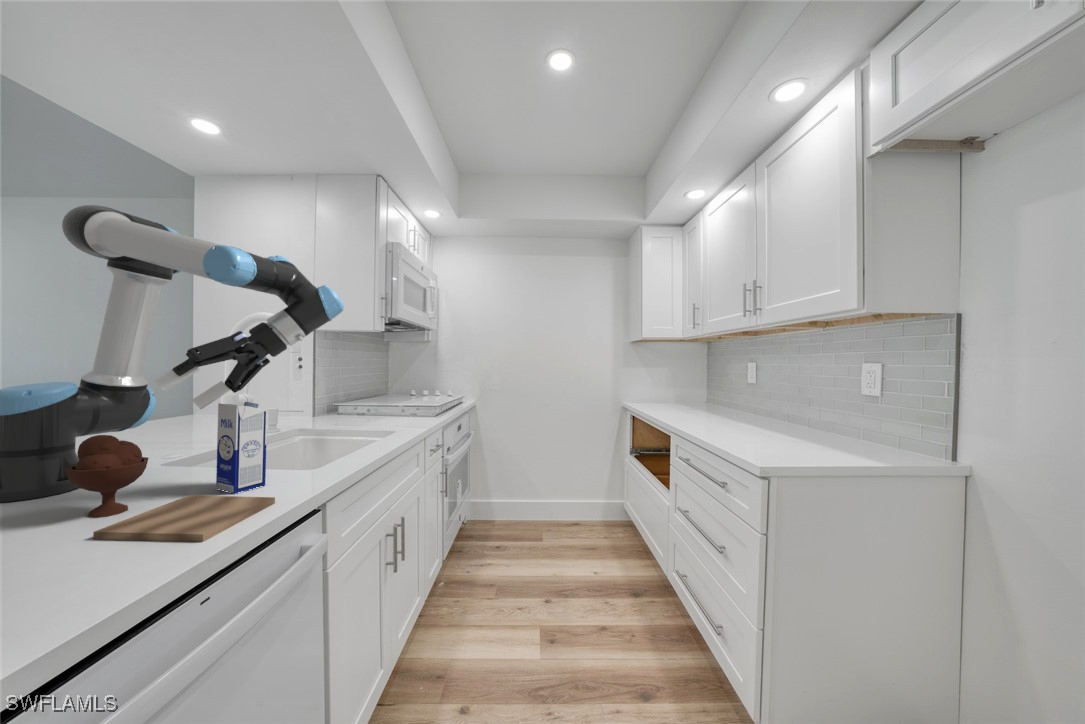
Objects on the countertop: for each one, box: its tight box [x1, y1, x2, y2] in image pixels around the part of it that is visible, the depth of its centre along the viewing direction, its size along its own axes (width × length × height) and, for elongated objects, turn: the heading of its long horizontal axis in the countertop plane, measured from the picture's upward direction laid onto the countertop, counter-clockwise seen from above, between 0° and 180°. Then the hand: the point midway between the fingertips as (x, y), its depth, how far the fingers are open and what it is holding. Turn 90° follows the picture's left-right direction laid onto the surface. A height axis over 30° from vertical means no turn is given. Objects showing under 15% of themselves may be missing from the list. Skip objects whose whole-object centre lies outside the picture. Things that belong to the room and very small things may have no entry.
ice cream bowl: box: [66, 434, 149, 519], centre depth 77 cm, size 11×11×15 cm
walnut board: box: [92, 494, 276, 543], centre depth 75 cm, size 18×18×1 cm
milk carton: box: [215, 401, 268, 494], centre depth 93 cm, size 7×7×20 cm
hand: (179, 396), depth 82 cm, fingers open, 13 cm apart
